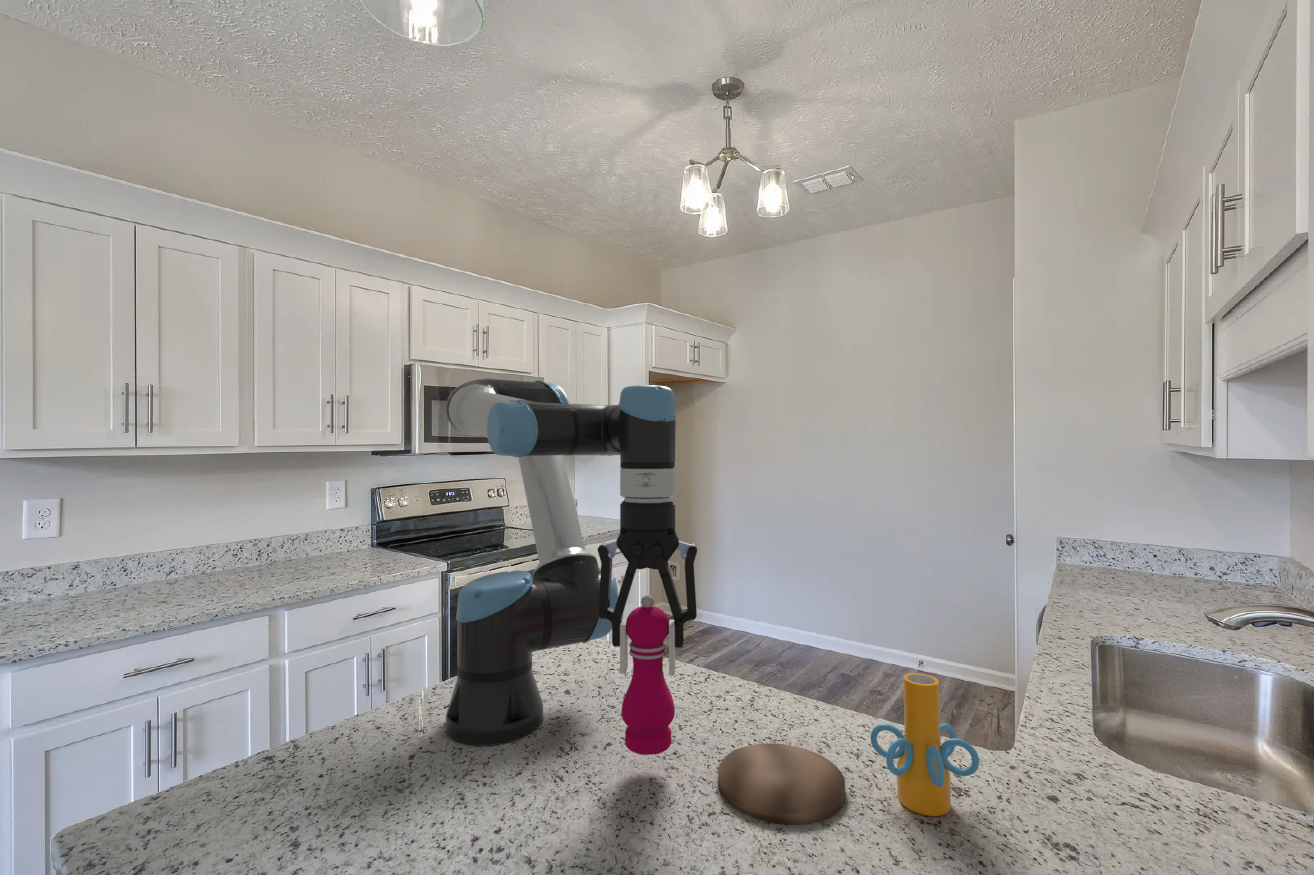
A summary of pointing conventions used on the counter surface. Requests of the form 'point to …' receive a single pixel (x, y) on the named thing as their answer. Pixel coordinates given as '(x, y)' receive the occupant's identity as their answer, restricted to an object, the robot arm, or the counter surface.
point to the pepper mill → (647, 682)
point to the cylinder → (923, 750)
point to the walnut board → (781, 784)
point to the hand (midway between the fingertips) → (648, 670)
